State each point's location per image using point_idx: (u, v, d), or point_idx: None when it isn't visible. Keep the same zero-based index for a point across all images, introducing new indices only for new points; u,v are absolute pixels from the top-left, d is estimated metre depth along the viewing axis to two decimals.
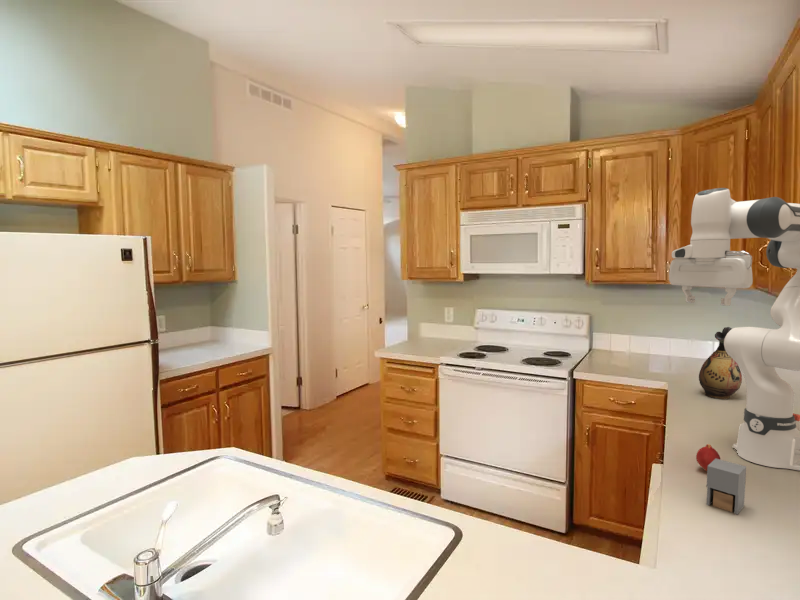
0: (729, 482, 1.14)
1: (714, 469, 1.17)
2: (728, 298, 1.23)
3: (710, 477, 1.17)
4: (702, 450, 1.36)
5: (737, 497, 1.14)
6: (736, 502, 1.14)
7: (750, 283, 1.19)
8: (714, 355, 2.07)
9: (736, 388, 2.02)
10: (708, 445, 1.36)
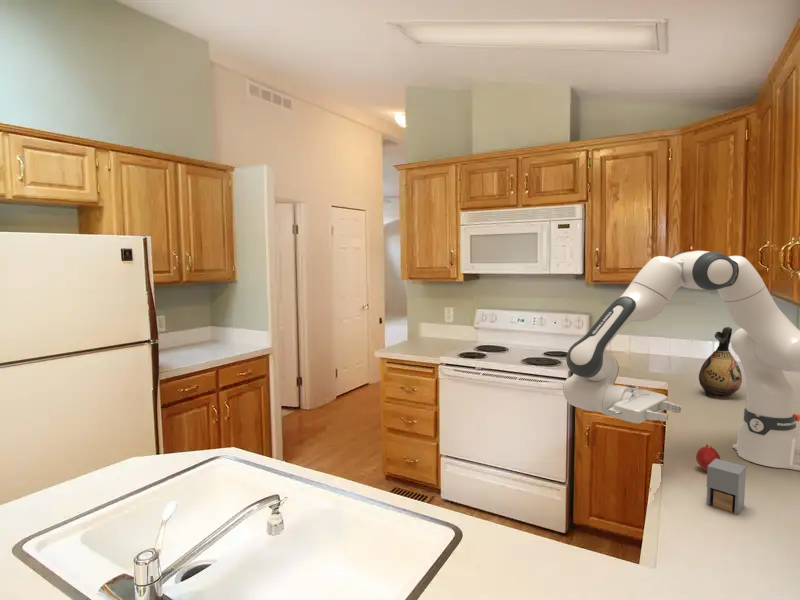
0: (729, 482, 1.14)
1: (714, 469, 1.17)
2: (657, 418, 1.23)
3: (710, 477, 1.17)
4: (702, 450, 1.36)
5: (737, 497, 1.14)
6: (736, 502, 1.14)
7: (634, 414, 1.23)
8: (714, 355, 2.07)
9: (736, 388, 2.02)
10: (708, 445, 1.36)
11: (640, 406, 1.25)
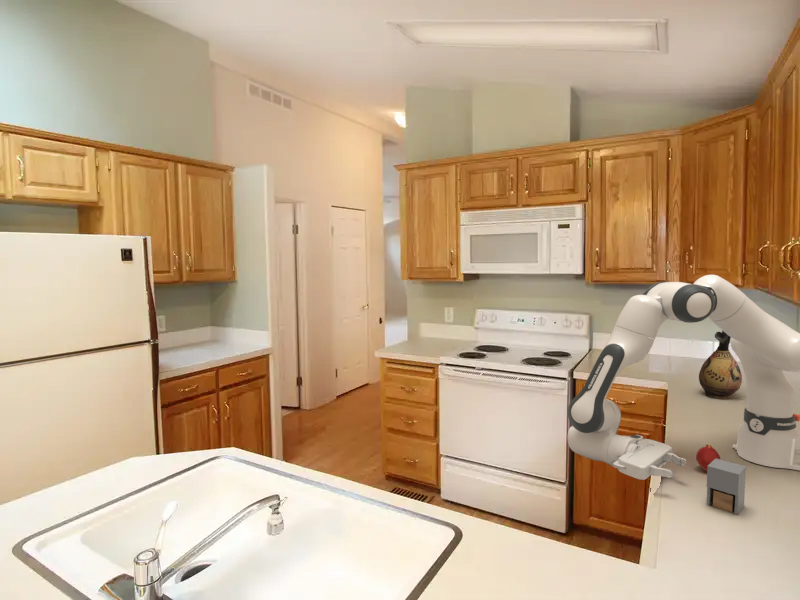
0: (729, 482, 1.14)
1: (714, 469, 1.17)
2: (662, 474, 1.23)
3: (710, 477, 1.17)
4: (702, 450, 1.36)
5: (737, 497, 1.14)
6: (736, 502, 1.14)
7: (639, 470, 1.23)
8: (714, 355, 2.07)
9: (736, 388, 2.02)
10: (708, 445, 1.36)
11: (644, 462, 1.25)
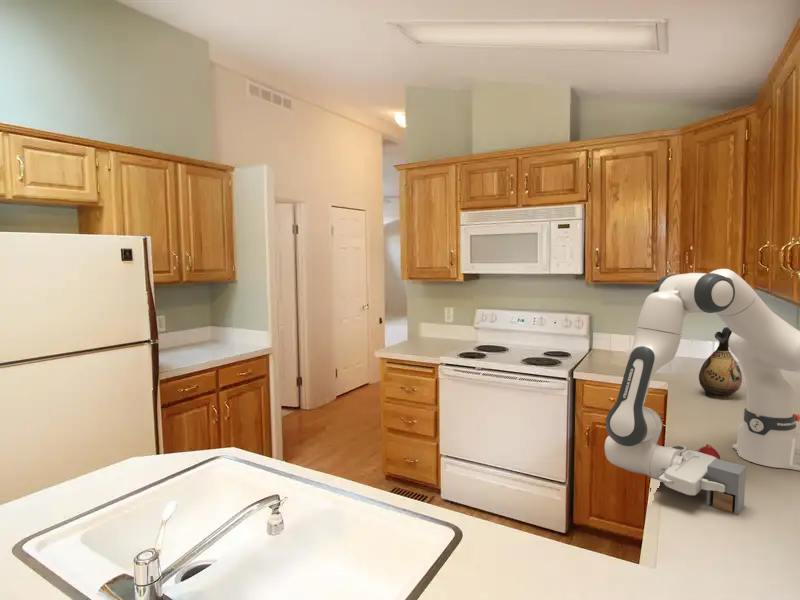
0: (729, 482, 1.14)
1: (714, 469, 1.17)
2: (715, 488, 1.15)
3: (710, 477, 1.17)
4: (702, 450, 1.36)
5: (737, 497, 1.14)
6: (736, 502, 1.14)
7: (689, 485, 1.15)
8: (714, 355, 2.07)
9: (736, 388, 2.02)
10: (708, 445, 1.36)
11: (694, 476, 1.17)
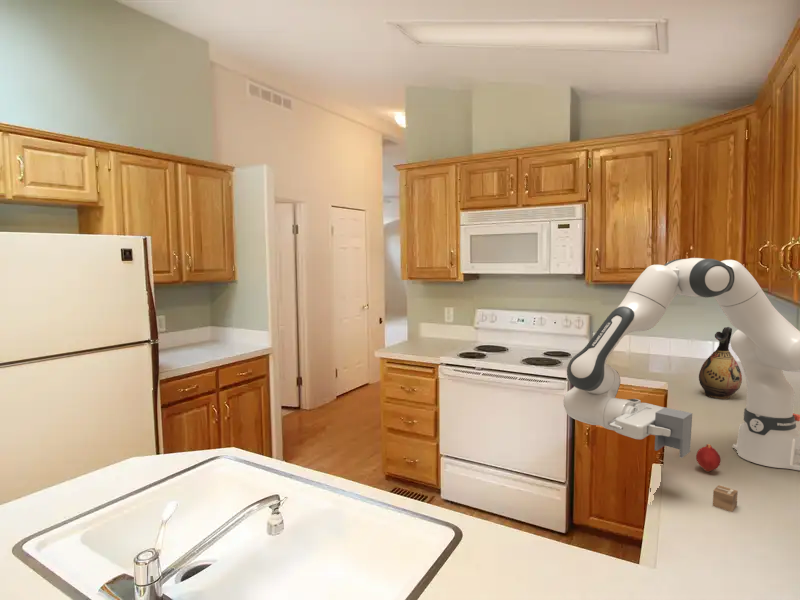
0: (674, 427, 1.20)
1: (661, 415, 1.22)
2: (661, 433, 1.21)
3: (658, 423, 1.23)
4: (702, 450, 1.36)
5: (682, 441, 1.19)
6: (681, 446, 1.20)
7: (636, 430, 1.20)
8: (714, 355, 2.07)
9: (736, 388, 2.02)
10: (708, 445, 1.36)
11: (642, 422, 1.22)
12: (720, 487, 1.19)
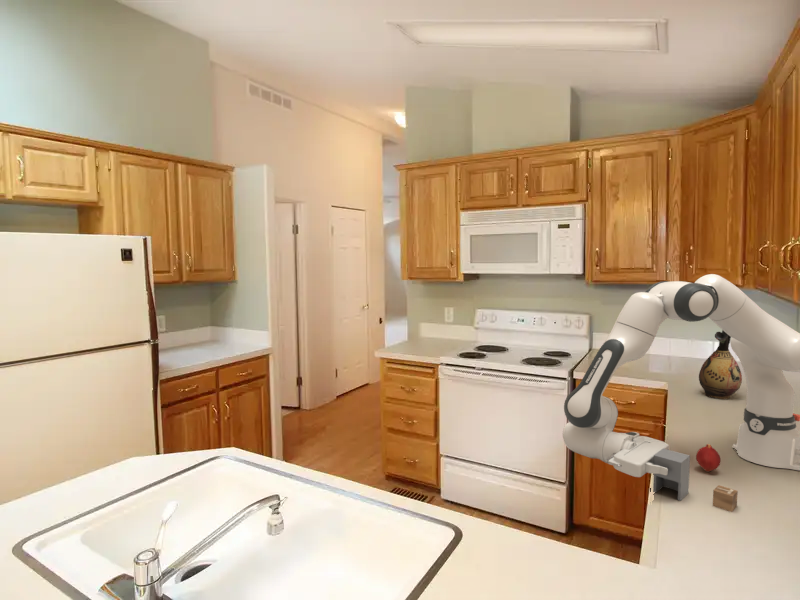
0: (672, 470, 1.21)
1: (659, 458, 1.23)
2: (658, 471, 1.21)
3: None
4: (702, 450, 1.36)
5: (680, 484, 1.21)
6: (679, 489, 1.21)
7: (635, 468, 1.21)
8: (714, 355, 2.07)
9: (736, 388, 2.02)
10: (708, 445, 1.36)
11: (640, 459, 1.23)
12: (720, 487, 1.19)
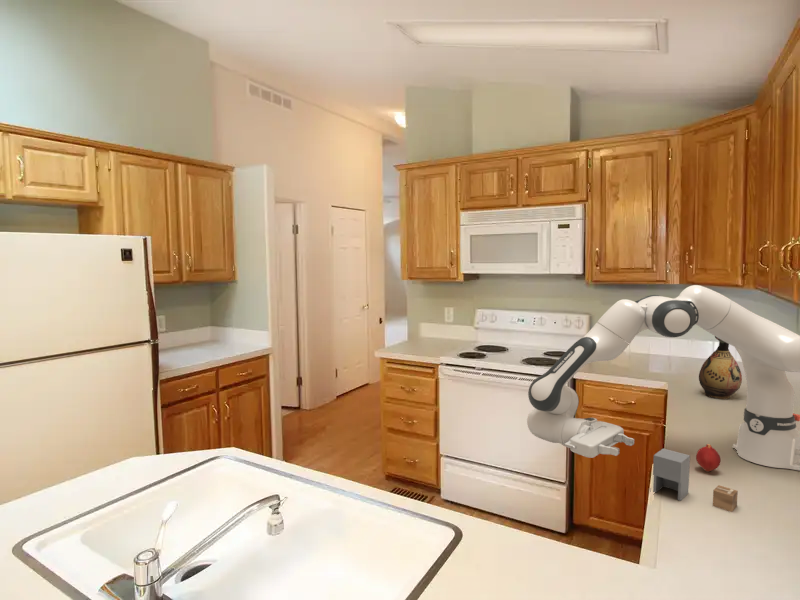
0: (672, 470, 1.21)
1: (659, 458, 1.23)
2: (609, 452, 1.31)
3: (656, 466, 1.24)
4: (702, 450, 1.36)
5: (680, 484, 1.21)
6: (679, 489, 1.21)
7: (588, 449, 1.31)
8: (714, 355, 2.07)
9: (736, 388, 2.02)
10: (708, 445, 1.36)
11: (594, 441, 1.33)
12: (720, 487, 1.19)
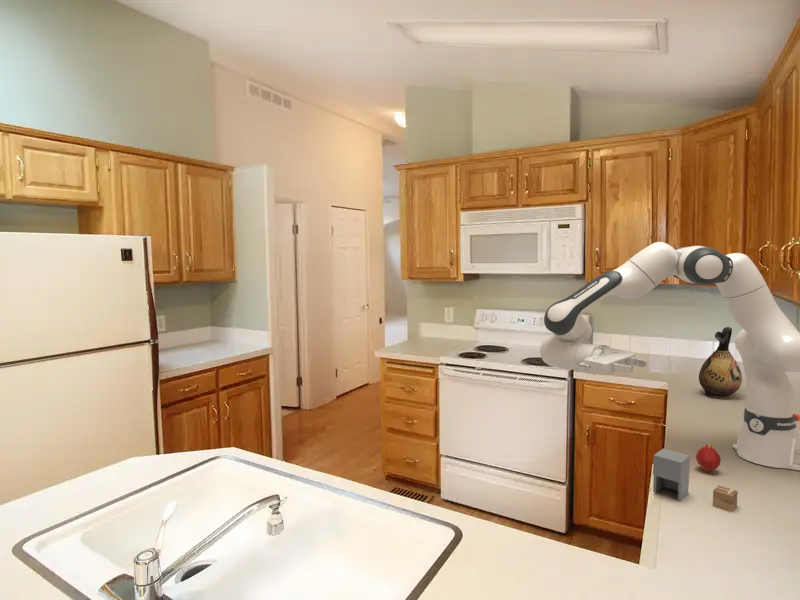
0: (672, 470, 1.21)
1: (659, 458, 1.23)
2: (623, 370, 1.33)
3: (656, 466, 1.24)
4: (702, 450, 1.36)
5: (680, 484, 1.21)
6: (679, 489, 1.21)
7: (602, 366, 1.33)
8: (714, 355, 2.07)
9: (736, 388, 2.02)
10: (708, 445, 1.36)
11: (607, 360, 1.35)
12: (720, 487, 1.19)
